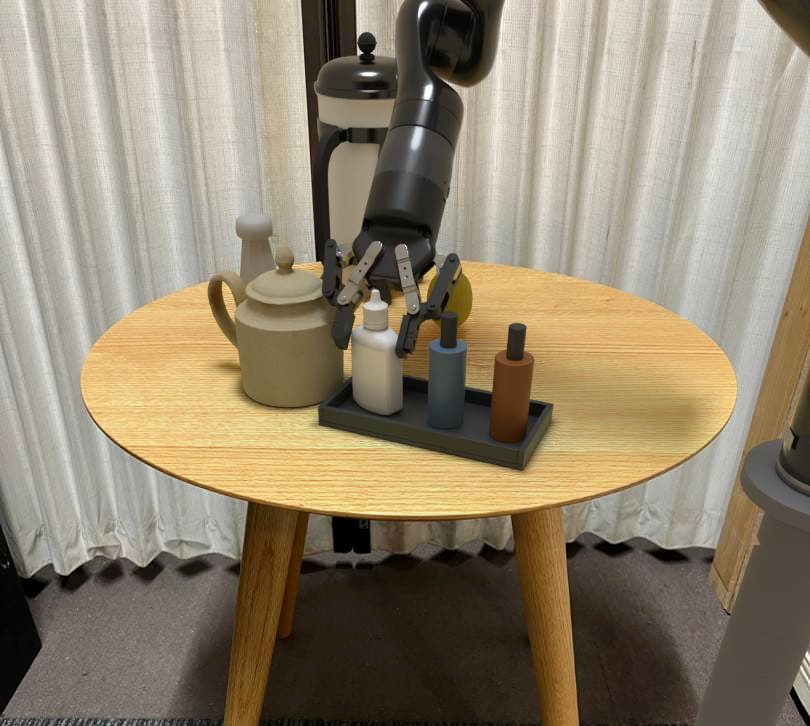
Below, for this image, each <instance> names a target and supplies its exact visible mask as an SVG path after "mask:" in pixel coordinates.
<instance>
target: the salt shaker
mask: <svg viewBox="0 0 810 726" xmlns="http://www.w3.org/2000/svg"><path fill="white" fill-rule="evenodd" d="M273 230H274V228H273V221H272V218H271V217H270V216H269V215H268V214H265V213H260V212H247V213H244V214H243V213H242V214H240V215H239V216H237V218H236V219H235V234H236V236H237V237H238V238H239V239H241V251H240V268H239V276H240V278H241V279H242V280H243V282H244V284H245V285H246V286H247V285H248V284H249V283H250V282H251V281H253V280H255V279H256V278H257V277H258V276H260V275H261V274H263V273H265V272H267V271H271V270H275V269H277V267H276V266H277V265H276V262H275V258H274V255H273V251H272V248H271V244H270V240H269V238H271V237H272V236H273V233H274V232H273Z"/></svg>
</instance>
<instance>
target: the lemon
mask: <svg viewBox="0 0 810 726" xmlns="http://www.w3.org/2000/svg"><path fill="white" fill-rule="evenodd" d="M437 278H438V275H437V273H436V274H435V275H434V276H433V277H432V279H431V280H430V282H429V284H428V289H427V293H426V302H427V301H428V299H429V296H430V294H431V292H432V290H433V287H434V285H435V283H436V280H437ZM473 296H474V295H473V289H472V285H471V281H470V280H469V278H468V277H467V276H466V275H465V274H464V273H463V272H462V274H461V276H460V278H459V280H458V283H457V285H456V287H455V290H454V292H453V294H452V297H451V299H450V301H449V304H448V306H447V308H446V311H445V312H447V311H451V312H456V313H457V314H458V328H459V327H461V326H462V325H463V324H464V323H466V321H468V318H469V317H470V314H471V312H472V308H473V299H474V298H473ZM431 321H432V322H433V323H434V325H436V326H438V327H439V328H441V320H439V321H435V320H433V319H431Z"/></svg>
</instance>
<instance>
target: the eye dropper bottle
mask: <svg viewBox="0 0 810 726" xmlns="http://www.w3.org/2000/svg"><path fill="white" fill-rule="evenodd" d="M362 316H363V317H362V318H363V321H362V322H363V323H362V324H360V325H358V326H356V327H354V328H353V329H352V333H351V337H350V352H351V353H350V354H351V355H350V356H351V357H350V358H351V376H352V385H353V398H354V400H355V402H356V403H357V404H358V405H359V406H361V407H362V408H364V409H365V410H368V411H370V412H373V413H376V414H380V415H391V414H393V413H395V412H397V411H399V410H401V409H402V406H403V374H404V373H403V367H404V366H403V362H404V361H403V360H404V359H400V358H398V356H397V355H396V353H395V347H396V343H397V339H398V334H397V332H395V330H394V329H392V328H391V327H390V326H389V324H390V322H389V304H387V303H385V302H383V301H381V298H380V293H379V290H375V289H374V290H372V292H371V295H370V297H369V300H368V301H366V302H364V304H363V305H362Z"/></svg>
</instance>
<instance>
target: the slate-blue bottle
mask: <svg viewBox="0 0 810 726" xmlns="http://www.w3.org/2000/svg"><path fill="white" fill-rule="evenodd" d="M458 330H459V327H458V314H457V313H456V312H451V311H447V312H443V313H442V314H441V327H440V331H439V332H440V333H439V338H436V339H434V340H432V341H430V342H429V344H428V375H427V376H428V377H427V379H428V410H427V421H428V423H429V424H430V425H432V426H433V427H436V428H440V429H452V428H456V427H458V426H460V425H461V424H462V423H463V416H464V399H465V386H466V380H467V379H466V378H467V365H468V343H467V342H465V341H464V340H462V339H460V338H458V335H459V334H458V333H459V332H458Z"/></svg>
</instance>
